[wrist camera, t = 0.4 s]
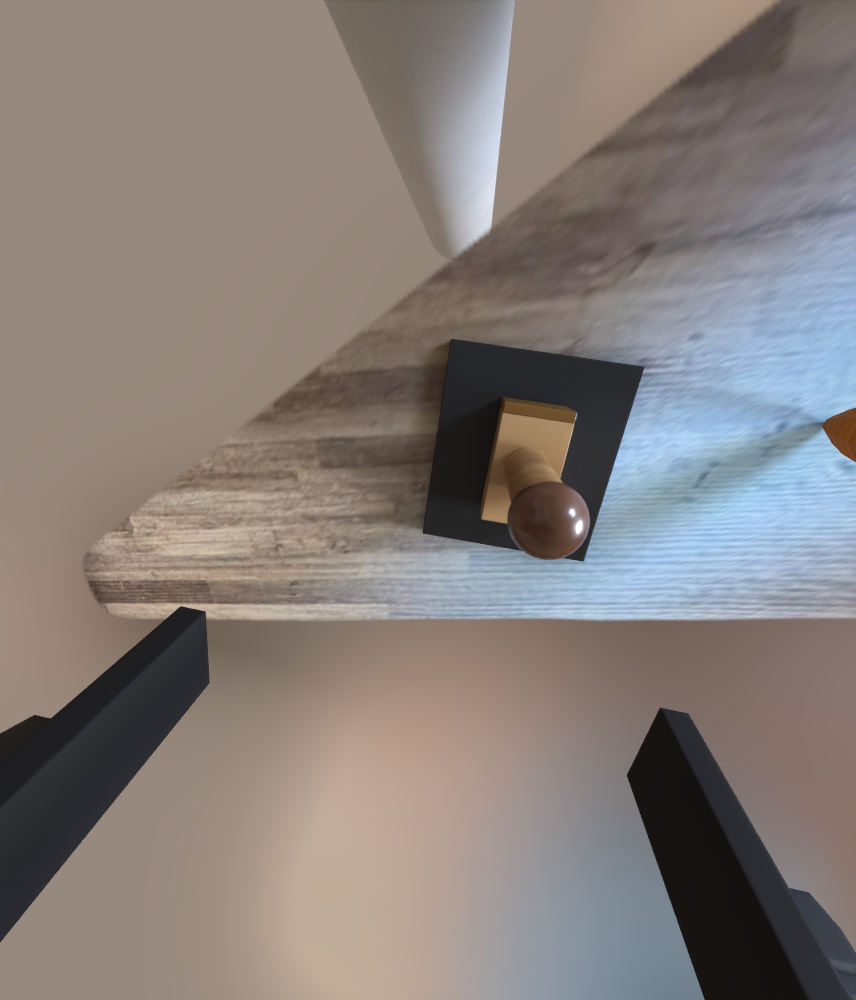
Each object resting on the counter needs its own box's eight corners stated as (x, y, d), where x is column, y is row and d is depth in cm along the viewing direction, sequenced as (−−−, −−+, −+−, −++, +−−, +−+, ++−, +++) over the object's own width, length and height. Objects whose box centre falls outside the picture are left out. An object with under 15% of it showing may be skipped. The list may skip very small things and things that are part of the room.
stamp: (502, 396, 31) (521, 432, 17) (568, 406, 30) (640, 451, 17) (480, 505, 34) (482, 607, 20) (540, 515, 34) (582, 626, 20)
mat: (451, 338, 30) (451, 338, 30) (640, 366, 30) (644, 366, 29) (423, 529, 36) (422, 533, 35) (581, 557, 35) (583, 562, 35)
